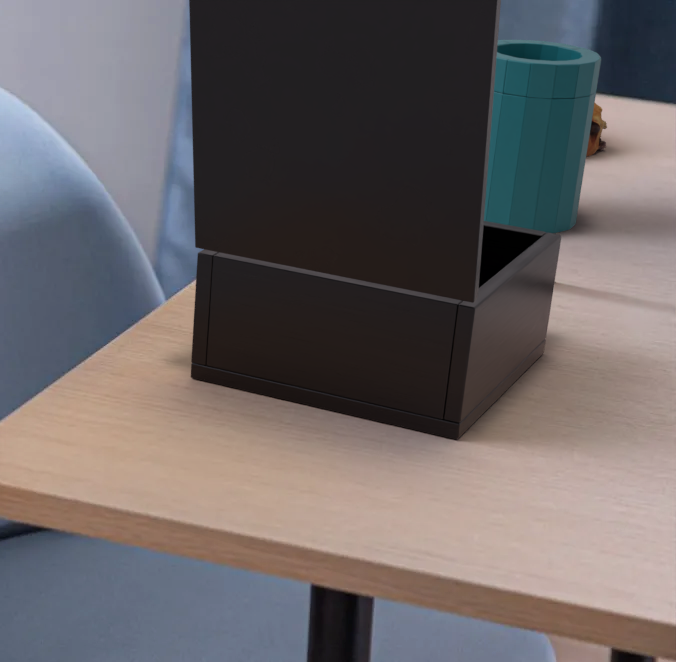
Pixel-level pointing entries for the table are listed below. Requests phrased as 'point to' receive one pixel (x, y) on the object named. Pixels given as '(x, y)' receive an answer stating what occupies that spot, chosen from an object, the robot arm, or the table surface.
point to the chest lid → (346, 136)
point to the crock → (539, 133)
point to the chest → (377, 334)
